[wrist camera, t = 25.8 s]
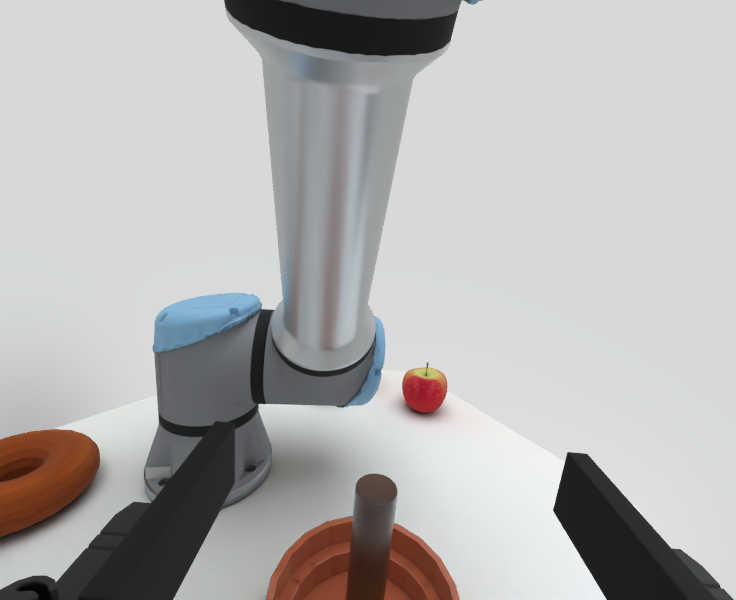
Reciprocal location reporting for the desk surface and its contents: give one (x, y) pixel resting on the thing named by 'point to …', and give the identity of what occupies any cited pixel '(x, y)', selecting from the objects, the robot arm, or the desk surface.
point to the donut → (42, 475)
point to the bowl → (331, 561)
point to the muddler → (371, 537)
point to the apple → (424, 389)
